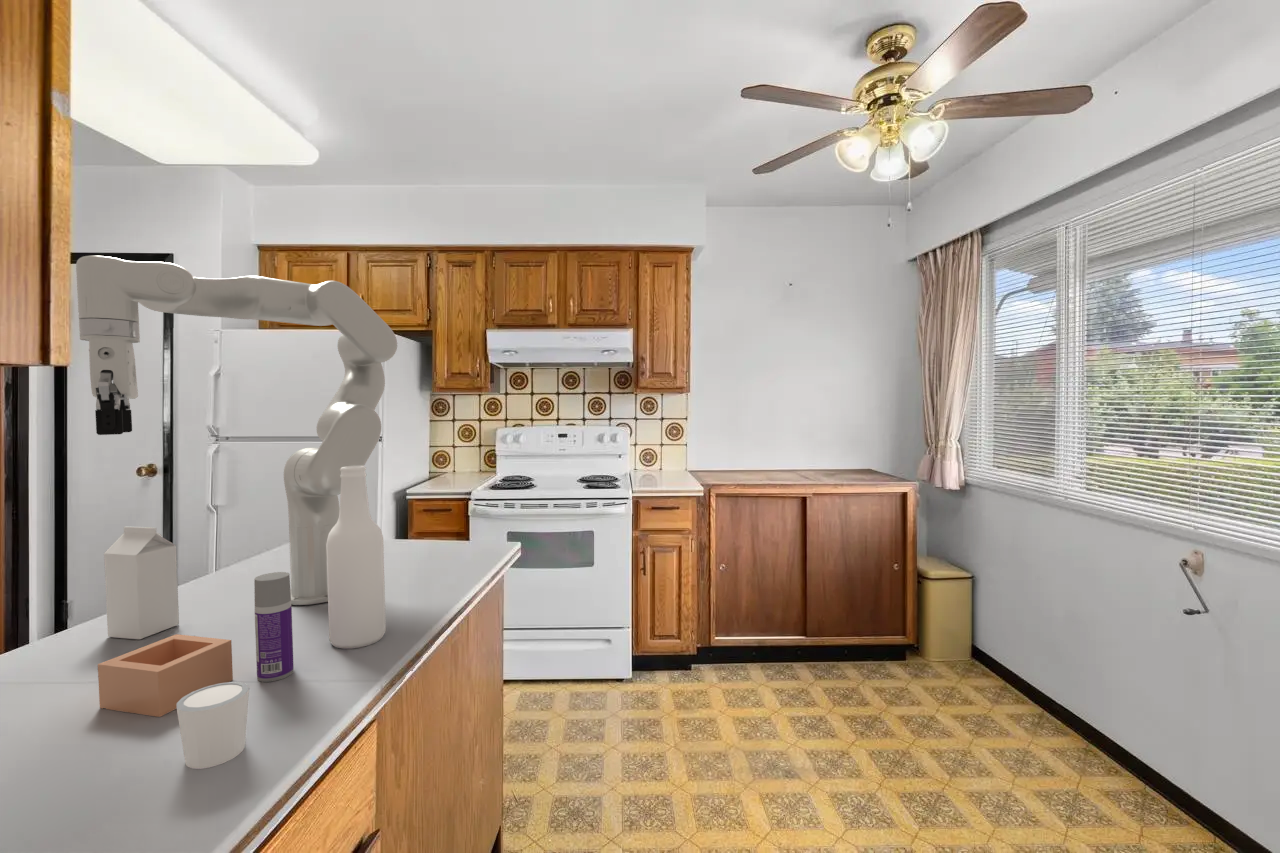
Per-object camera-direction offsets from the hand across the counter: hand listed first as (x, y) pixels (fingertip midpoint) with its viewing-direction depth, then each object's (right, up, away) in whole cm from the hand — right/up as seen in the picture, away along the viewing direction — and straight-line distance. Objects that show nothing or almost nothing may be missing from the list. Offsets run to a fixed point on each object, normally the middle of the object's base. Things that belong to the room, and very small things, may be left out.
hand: (115, 433), depth 99 cm
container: (+34, -36, -11) cm, 51 cm away
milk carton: (0, -36, +6) cm, 37 cm away
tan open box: (+23, -37, -17) cm, 46 cm away
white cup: (+40, -37, -31) cm, 63 cm away
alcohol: (+41, -36, +2) cm, 54 cm away
